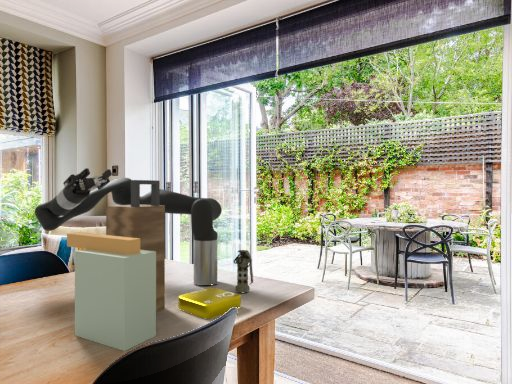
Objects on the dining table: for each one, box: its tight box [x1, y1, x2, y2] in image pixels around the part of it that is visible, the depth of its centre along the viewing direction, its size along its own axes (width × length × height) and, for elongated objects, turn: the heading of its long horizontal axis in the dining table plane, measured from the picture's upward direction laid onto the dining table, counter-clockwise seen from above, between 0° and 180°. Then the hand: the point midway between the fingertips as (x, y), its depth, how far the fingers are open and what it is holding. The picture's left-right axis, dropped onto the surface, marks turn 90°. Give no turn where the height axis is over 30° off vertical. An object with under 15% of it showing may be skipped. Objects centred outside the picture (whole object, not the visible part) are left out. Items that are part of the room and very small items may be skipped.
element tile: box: [177, 286, 242, 320], centre depth 116 cm, size 15×15×5 cm
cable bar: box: [66, 231, 140, 255], centre depth 96 cm, size 24×4×4 cm, turn 61°
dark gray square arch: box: [131, 179, 161, 207], centre depth 110 cm, size 2×10×8 cm, turn 151°
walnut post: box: [105, 204, 166, 312], centre depth 112 cm, size 12×12×32 cm
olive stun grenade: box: [233, 249, 254, 293], centre depth 132 cm, size 6×7×15 cm
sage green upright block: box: [74, 249, 157, 352], centre depth 94 cm, size 18×10×22 cm, turn 61°
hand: (99, 171), depth 123 cm, fingers open, 8 cm apart
